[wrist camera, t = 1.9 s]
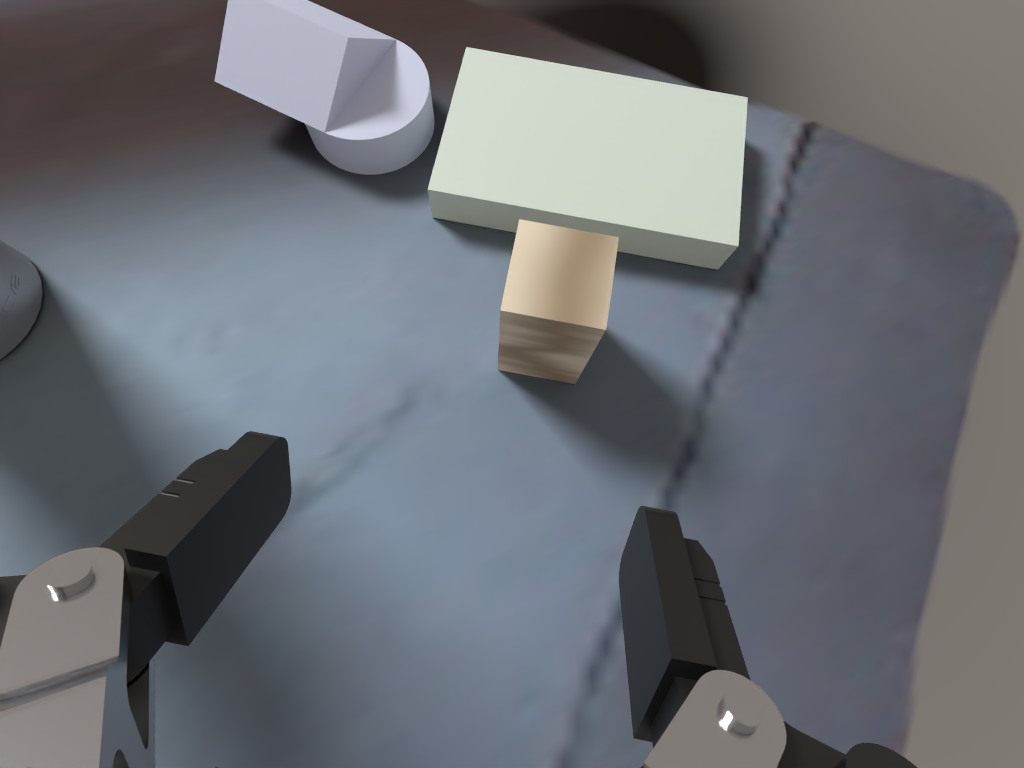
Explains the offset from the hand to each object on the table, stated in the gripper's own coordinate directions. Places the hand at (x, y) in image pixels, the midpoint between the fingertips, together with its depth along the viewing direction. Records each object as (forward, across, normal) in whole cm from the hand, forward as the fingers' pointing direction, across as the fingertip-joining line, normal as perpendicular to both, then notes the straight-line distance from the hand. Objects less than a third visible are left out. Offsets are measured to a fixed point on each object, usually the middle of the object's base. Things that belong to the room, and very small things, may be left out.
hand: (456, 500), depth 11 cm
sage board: (+31, -3, -5) cm, 32 cm away
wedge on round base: (+32, +15, -6) cm, 36 cm away
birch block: (+22, -2, +5) cm, 22 cm away
